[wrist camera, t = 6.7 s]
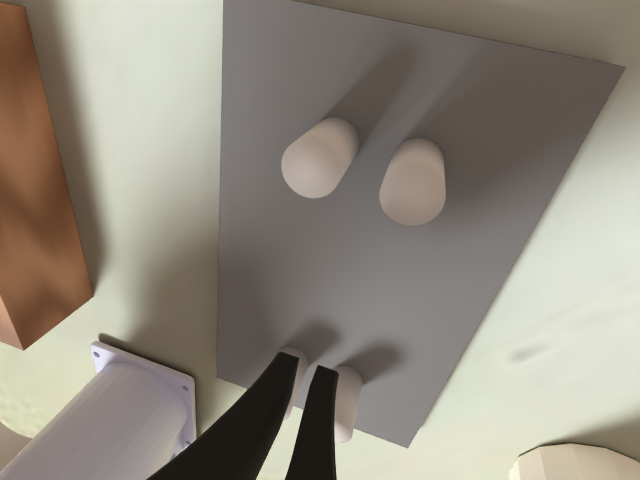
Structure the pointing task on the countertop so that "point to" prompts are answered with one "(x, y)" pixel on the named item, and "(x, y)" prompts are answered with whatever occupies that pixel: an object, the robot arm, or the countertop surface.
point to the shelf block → (32, 200)
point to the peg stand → (379, 196)
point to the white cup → (574, 464)
